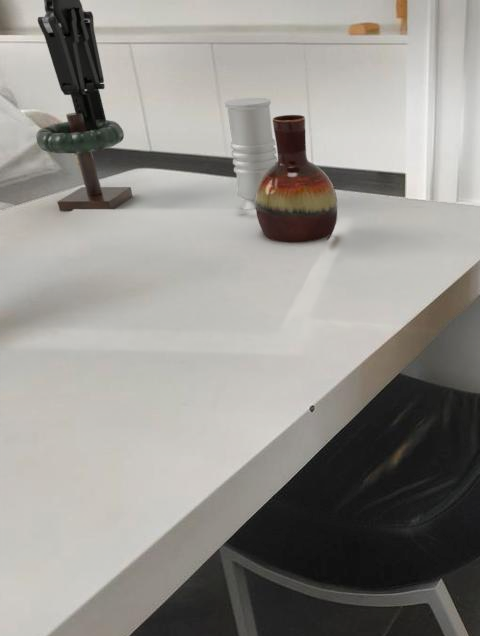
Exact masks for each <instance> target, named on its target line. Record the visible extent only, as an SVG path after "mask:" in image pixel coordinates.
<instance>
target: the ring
mask: <svg viewBox="0 0 480 636" xmlns="http://www.w3.org/2000/svg"><path fill="white" fill-rule="evenodd" d="M95 121H96V125H97V129H96V130H91V131H84V132H75V133H71V131H70V128H69V124H68V121H65V122H60V123H53V124H50V125H47V126H45V127H42V128H40V129H39V130H38V131H37V132H36V135H35V137H36V138H35V139H36V144H37V145H38V147H39V149H41V150H42V151H44V152H47V153H48V152H49V153H54V154H76V153H82V152H90V151H92V152H96V151H101V150H104V149H109V148H112V147H114V146H116V145H118V144H120V143H121V142H122V141H123V140H124V137H125V133H124V130H123V128H122V127H121V126H120V124H119V123H118V122H116V121H113V120H109V119H108V120H107V119H106V120H95Z"/></svg>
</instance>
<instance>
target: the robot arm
mask: <svg viewBox="0 0 480 636" xmlns="http://www.w3.org/2000/svg"><path fill="white" fill-rule="evenodd" d="M43 3H44V11H45V15H44V16H38V17H37V23H38V26H39V28H40V30H41V32H42V34H43V36H44V39H45V43H46V46H47V50H48V52H49V53H48V54H49V56H50V59H51V62H52V65H53V69H54V72H55V75H56V78H57V82H58V84H59V88H60V90H61V92H62V94H63V95H64V96H70V97H71V101H72V105H73V108H74V113H82V115H83V119H84V123H85V127H86V131H91V130H96V129H97V125H96V121H95V120H107V117H106V114H105V110H104V105H103V102H102V97H101V93H100V90H105V89H106V87H105V79H104V73H103V69H102V64H101V58H100V52H99V47H98V43H97V39H96V34H95V33H96V32H95V27H94V26H95V24H94V14H93V12H92V11H90V10H89V11H85V10H84V8H83V4H82V2H81V0H43Z"/></svg>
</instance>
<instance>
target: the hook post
mask: <svg viewBox="0 0 480 636" xmlns="http://www.w3.org/2000/svg"><path fill="white" fill-rule="evenodd" d="M66 121H67V122H68V124H69V128H70V131H71V133H75V132H84V131H86V127H85V123H84V119H83V115H82V113H75V112H69V113H67V114H66ZM75 154H76V158H77V161H78V164H79V169H80V172H81V177H82V180H83V184H84V186H82V187H80V188H78V189H76V190H74V191H73V192H71V193H69V194H68V195H66V196H64V197H63V198H61V199H59V200H57V202H56V203H57V206H58V210H59V211H60V212H71V211H72V212H73V211H74V210H115V209H116V208H117V207H119V206H120V205H122V204H123V203H125V202H126V201H127V200H129V199H130V198H132V197H133V191H132V187H131V186H101V183H100V179H99V175H98V171H97V167H96V163H95V159H94V156H93V151H90V152H82V153H75Z"/></svg>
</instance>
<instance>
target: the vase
mask: <svg viewBox="0 0 480 636" xmlns="http://www.w3.org/2000/svg"><path fill="white" fill-rule="evenodd" d="M272 128H273V132H274V137H275V146H276V154H277V162H275V163H276V164H275V165H274V166H272V167H271V168H270V169H269V170H268V171H267V172H266V173H265V175H264V176H263V177H262V179H261V181H260V183H259V186H258V189H257V192H256V201H255V204H256V209H255V212H256V217H257V221H258V224H259V227H260V229H261V231H262V233H263V235H264V236H265V237H266V238H267V239H269V240H271V241H275V242H280V243H306V242H311V241H316V240H320V239H323V238H326V237H327V240H326V241H328V240H329V239H330V237H331V236H332V235H333V232H334V231H335V227H336V224H337V218H338V197H337V193H336V190H335V187H334V185H333V183H332V181H331V179H330V178H329V176H328V175H327V174H326V173H325V172H324V170H322V169H321V168H320V167H319V166H317V165H316V164H315V163H313V162H310V161H309V159H308V155H307V142H306V117H305V116H304V115H301V114H284V115H278V116H275V117H273V118H272Z"/></svg>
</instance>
